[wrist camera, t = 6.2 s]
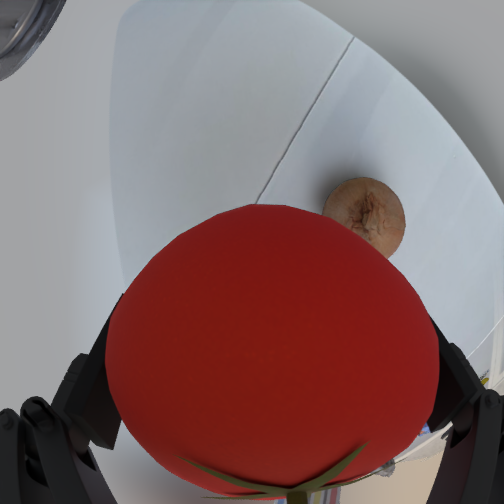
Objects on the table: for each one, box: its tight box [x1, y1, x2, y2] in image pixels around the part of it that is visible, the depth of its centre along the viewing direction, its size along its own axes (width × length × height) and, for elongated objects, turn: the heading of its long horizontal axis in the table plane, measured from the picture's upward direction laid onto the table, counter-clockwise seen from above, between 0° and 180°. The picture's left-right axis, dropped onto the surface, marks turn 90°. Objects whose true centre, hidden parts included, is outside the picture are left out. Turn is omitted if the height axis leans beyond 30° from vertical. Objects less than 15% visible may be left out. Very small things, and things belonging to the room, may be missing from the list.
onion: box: [322, 177, 406, 259], centre depth 28 cm, size 10×9×10 cm
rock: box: [371, 458, 395, 477], centre depth 69 cm, size 16×10×15 cm, turn 25°
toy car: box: [418, 422, 433, 436], centre depth 65 cm, size 8×15×5 cm, turn 21°
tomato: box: [105, 204, 439, 504], centre depth 10 cm, size 11×12×10 cm
